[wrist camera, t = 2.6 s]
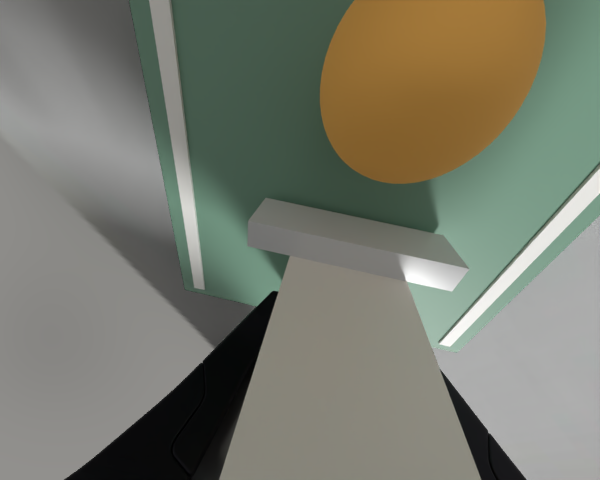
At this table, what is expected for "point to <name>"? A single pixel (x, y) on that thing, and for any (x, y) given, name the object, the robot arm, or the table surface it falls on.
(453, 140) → the ball
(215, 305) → the table surface
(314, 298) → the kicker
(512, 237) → the board
